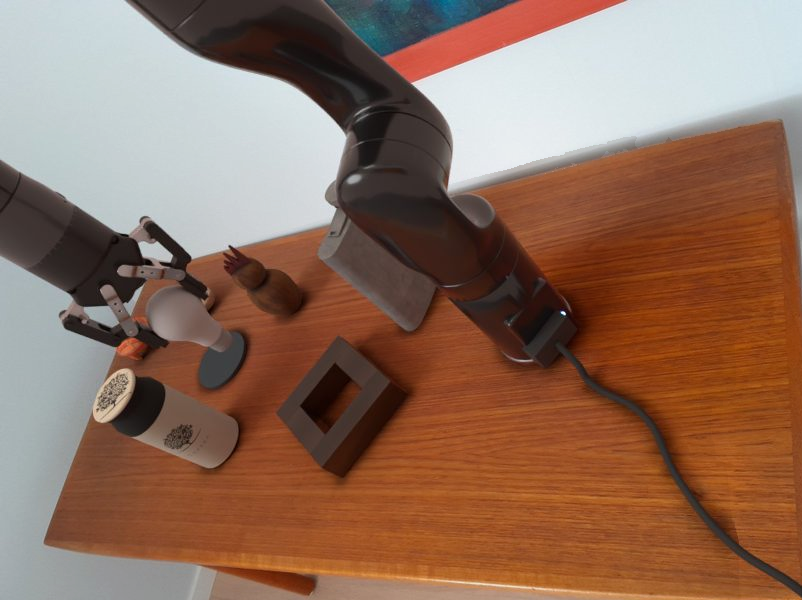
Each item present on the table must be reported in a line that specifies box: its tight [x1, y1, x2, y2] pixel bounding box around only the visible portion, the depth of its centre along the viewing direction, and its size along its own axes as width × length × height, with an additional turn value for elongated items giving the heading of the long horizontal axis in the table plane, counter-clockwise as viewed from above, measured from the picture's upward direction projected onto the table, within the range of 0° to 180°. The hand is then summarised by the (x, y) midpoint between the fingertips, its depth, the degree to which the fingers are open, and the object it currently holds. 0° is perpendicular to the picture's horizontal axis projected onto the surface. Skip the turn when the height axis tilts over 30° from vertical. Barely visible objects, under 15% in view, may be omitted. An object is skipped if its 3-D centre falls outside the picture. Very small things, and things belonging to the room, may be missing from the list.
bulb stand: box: [275, 334, 410, 479], centre depth 85 cm, size 13×13×4 cm
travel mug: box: [92, 367, 239, 469], centre depth 91 cm, size 8×8×18 cm
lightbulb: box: [144, 285, 233, 352], centre depth 75 cm, size 6×6×11 cm
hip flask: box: [317, 179, 437, 332], centre depth 83 cm, size 16×4×20 cm, turn 164°
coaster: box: [198, 331, 248, 390], centre depth 107 cm, size 10×10×1 cm
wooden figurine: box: [222, 244, 303, 317], centre depth 99 cm, size 7×6×15 cm
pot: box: [114, 316, 149, 361], centre depth 119 cm, size 8×8×7 cm
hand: (185, 318), depth 74 cm, fingers closed on lightbulb, 6 cm apart
